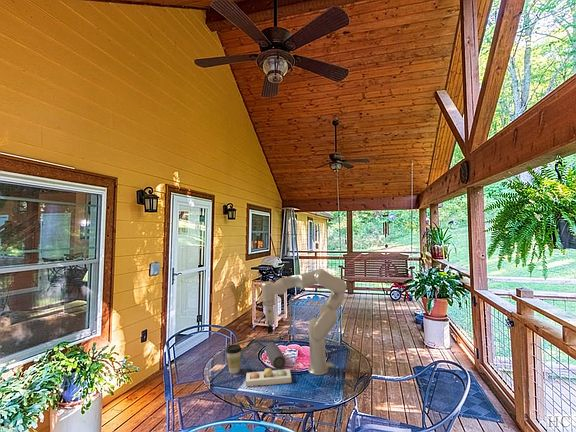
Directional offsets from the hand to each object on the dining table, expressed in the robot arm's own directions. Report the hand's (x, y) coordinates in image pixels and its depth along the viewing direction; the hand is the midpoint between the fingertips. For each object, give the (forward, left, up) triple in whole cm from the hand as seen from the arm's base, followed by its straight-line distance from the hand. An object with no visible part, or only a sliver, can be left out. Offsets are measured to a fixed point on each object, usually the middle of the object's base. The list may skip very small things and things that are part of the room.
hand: (270, 332), depth 185 cm
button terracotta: (+10, +7, -24) cm, 27 cm away
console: (+2, +7, -25) cm, 26 cm away
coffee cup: (+23, -7, -25) cm, 35 cm away
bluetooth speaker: (-3, -13, -26) cm, 29 cm away
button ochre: (+2, +7, -22) cm, 23 cm away
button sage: (-6, +7, -24) cm, 26 cm away
